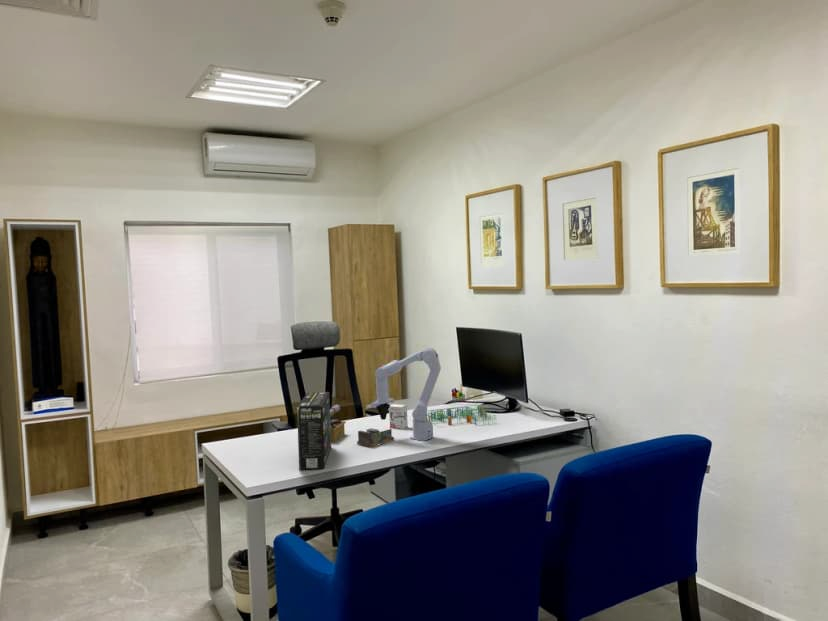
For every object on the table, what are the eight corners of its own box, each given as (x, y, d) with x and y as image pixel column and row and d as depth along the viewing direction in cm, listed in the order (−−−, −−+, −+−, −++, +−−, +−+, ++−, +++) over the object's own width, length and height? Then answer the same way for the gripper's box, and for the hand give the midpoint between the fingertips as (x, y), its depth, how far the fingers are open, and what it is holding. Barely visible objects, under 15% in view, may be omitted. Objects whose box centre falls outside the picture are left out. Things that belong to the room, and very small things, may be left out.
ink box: (389, 428, 322) (388, 405, 322) (394, 425, 327) (393, 403, 326) (403, 429, 318) (402, 406, 318) (408, 427, 323) (407, 404, 322)
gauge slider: (371, 436, 296) (371, 428, 296) (381, 438, 291) (381, 430, 291) (366, 437, 293) (366, 429, 293) (377, 440, 289) (377, 431, 288)
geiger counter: (346, 433, 314) (345, 404, 313) (330, 447, 289) (329, 415, 288) (330, 433, 316) (328, 404, 315) (312, 447, 290) (311, 415, 290)
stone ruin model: (380, 437, 303) (380, 424, 303) (394, 439, 297) (393, 426, 297) (357, 444, 291) (356, 430, 291) (370, 447, 285) (369, 433, 285)
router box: (325, 469, 254) (322, 405, 252) (298, 471, 253) (295, 406, 252) (332, 446, 289) (329, 390, 288) (308, 448, 289) (306, 391, 287)
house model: (477, 412, 354) (477, 404, 353) (502, 423, 326) (501, 414, 326) (420, 419, 342) (420, 411, 341) (441, 431, 314) (440, 421, 314)
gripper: (386, 388, 309) (387, 415, 309) (366, 393, 298) (367, 421, 298) (396, 390, 304) (397, 417, 305) (376, 394, 293) (377, 422, 294)
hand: (383, 419), depth 301 cm, fingers closed
